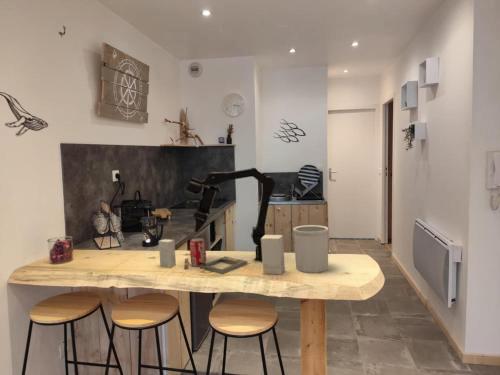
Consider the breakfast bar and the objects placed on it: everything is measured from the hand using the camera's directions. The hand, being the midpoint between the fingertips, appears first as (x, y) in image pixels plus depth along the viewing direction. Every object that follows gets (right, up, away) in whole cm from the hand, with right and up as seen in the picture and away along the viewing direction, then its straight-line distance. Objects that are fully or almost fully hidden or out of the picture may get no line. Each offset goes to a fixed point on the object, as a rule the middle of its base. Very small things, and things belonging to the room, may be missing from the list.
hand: (197, 229), depth 170 cm
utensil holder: (+51, -15, -12) cm, 55 cm away
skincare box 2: (+35, -16, -16) cm, 42 cm away
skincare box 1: (-13, -17, -2) cm, 21 cm away
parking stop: (-4, -16, -3) cm, 17 cm away
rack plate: (+13, -16, -6) cm, 21 cm away
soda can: (+1, -16, -2) cm, 16 cm away
